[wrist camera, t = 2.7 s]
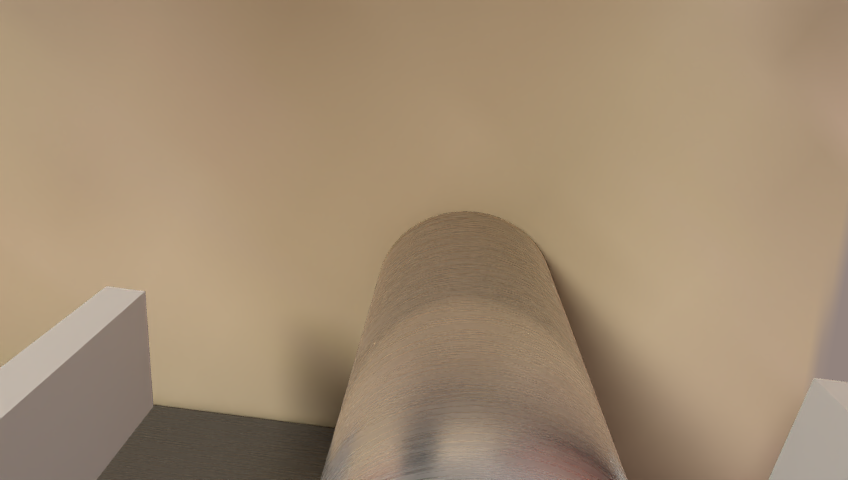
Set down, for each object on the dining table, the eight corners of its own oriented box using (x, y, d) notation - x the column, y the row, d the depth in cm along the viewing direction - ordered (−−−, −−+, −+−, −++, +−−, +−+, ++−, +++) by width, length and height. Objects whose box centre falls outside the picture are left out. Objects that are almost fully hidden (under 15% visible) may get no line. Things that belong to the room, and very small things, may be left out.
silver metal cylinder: (382, 195, 14) (116, 876, 3) (573, 220, 14) (1019, 992, 3) (367, 357, 16) (165, 1156, 5) (536, 379, 16) (728, 1232, 5)
